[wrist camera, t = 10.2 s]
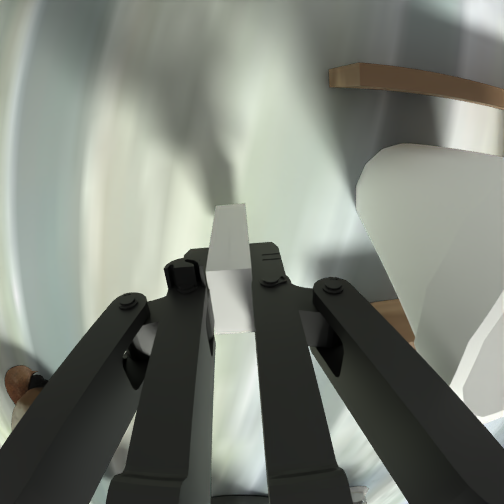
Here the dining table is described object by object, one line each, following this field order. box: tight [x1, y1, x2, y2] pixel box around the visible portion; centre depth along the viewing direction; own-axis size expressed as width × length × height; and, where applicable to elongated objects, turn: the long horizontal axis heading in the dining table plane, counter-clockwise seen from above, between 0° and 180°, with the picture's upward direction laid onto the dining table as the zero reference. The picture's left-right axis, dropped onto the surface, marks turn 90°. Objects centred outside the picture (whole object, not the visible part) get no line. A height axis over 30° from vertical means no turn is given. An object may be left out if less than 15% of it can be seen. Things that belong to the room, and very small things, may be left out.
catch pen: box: [329, 63, 504, 350], centre depth 16 cm, size 16×15×4 cm
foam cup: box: [356, 143, 504, 424], centre depth 12 cm, size 10×9×13 cm
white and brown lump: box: [5, 365, 48, 431], centre depth 25 cm, size 12×10×10 cm
